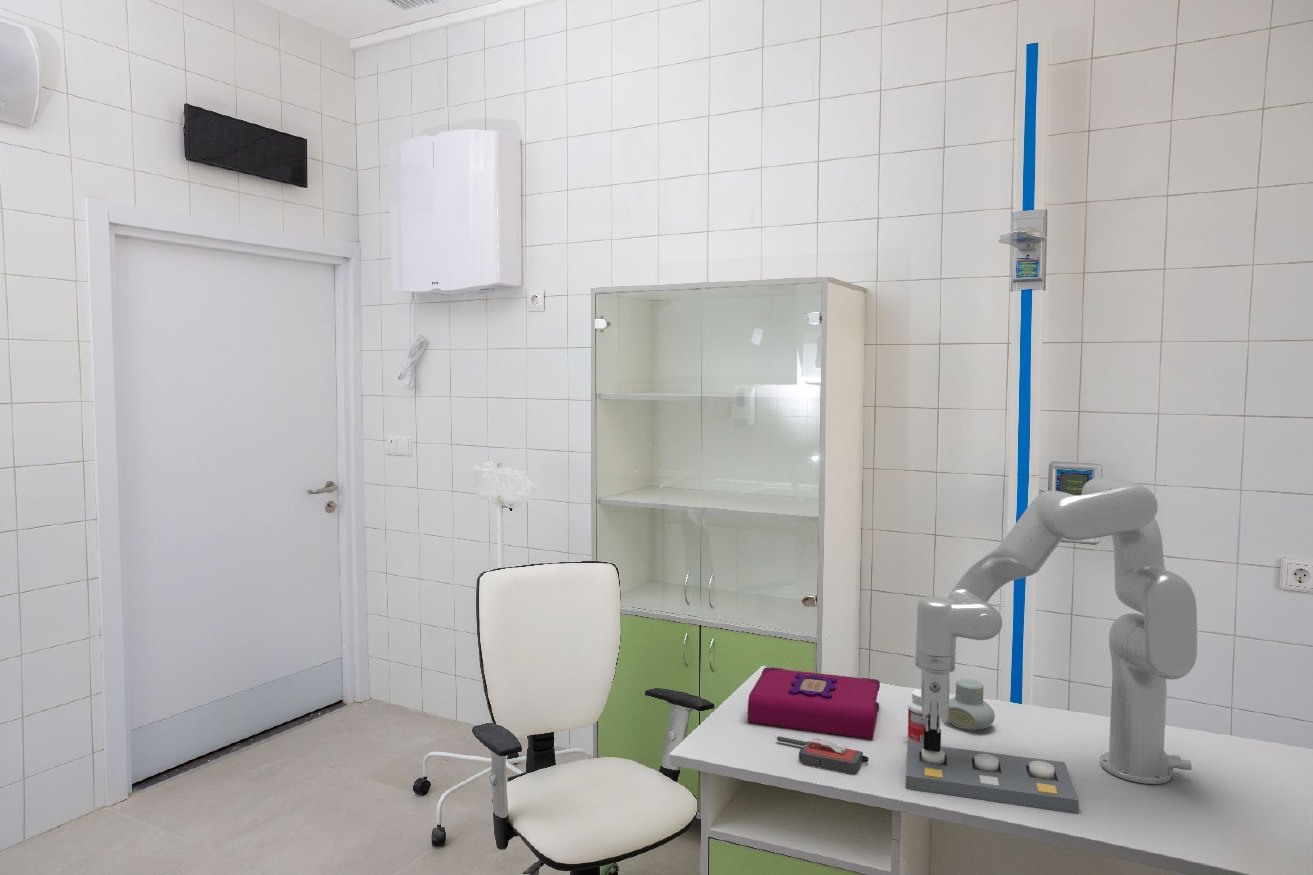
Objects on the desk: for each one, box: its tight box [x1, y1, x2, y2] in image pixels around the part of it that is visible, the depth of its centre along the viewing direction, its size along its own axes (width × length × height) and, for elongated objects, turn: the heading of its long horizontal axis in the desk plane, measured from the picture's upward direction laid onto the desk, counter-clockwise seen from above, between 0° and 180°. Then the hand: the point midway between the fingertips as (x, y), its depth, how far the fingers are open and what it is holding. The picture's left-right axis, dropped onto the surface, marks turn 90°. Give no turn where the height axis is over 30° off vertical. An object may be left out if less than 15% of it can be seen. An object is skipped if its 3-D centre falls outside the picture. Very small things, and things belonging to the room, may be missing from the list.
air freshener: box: [948, 678, 996, 731], centre depth 190 cm, size 11×8×10 cm
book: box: [747, 666, 881, 740], centre depth 196 cm, size 21×28×8 cm
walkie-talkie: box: [776, 735, 869, 776], centre depth 173 cm, size 9×4×20 cm
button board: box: [905, 741, 1080, 814], centre depth 163 cm, size 30×16×3 cm, turn 72°
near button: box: [1029, 761, 1054, 780], centre depth 162 cm, size 4×4×2 cm
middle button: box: [974, 754, 999, 772], centre depth 165 cm, size 4×4×2 cm
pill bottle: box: [907, 688, 926, 744], centre depth 181 cm, size 6×6×11 cm
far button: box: [922, 748, 945, 765], centre depth 168 cm, size 4×4×2 cm
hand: (931, 748), depth 168 cm, fingers closed
